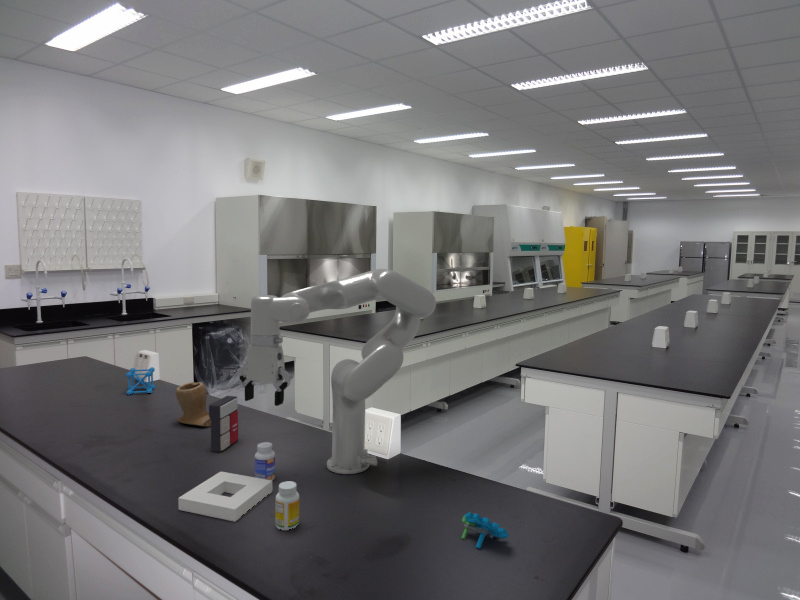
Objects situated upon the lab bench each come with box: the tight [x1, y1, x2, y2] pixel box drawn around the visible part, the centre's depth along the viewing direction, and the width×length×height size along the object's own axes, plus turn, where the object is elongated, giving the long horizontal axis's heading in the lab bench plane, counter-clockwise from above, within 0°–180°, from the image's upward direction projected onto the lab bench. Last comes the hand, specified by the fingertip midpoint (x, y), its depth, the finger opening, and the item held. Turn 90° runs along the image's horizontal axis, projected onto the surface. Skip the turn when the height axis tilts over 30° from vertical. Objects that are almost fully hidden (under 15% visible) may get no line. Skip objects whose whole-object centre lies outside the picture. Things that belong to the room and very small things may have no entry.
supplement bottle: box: [274, 480, 300, 531], centre depth 118 cm, size 5×5×10 cm
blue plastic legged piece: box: [461, 511, 510, 550], centre depth 112 cm, size 11×6×10 cm
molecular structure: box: [125, 366, 156, 396], centre depth 223 cm, size 10×10×10 cm
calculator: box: [208, 395, 239, 453], centre depth 164 cm, size 11×4×15 cm, turn 168°
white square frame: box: [177, 471, 273, 523], centre depth 129 cm, size 16×16×3 cm
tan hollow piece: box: [175, 381, 211, 427], centre depth 184 cm, size 15×12×15 cm
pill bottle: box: [254, 441, 276, 481], centre depth 141 cm, size 5×5×10 cm
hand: (263, 402), depth 141 cm, fingers open, 9 cm apart
